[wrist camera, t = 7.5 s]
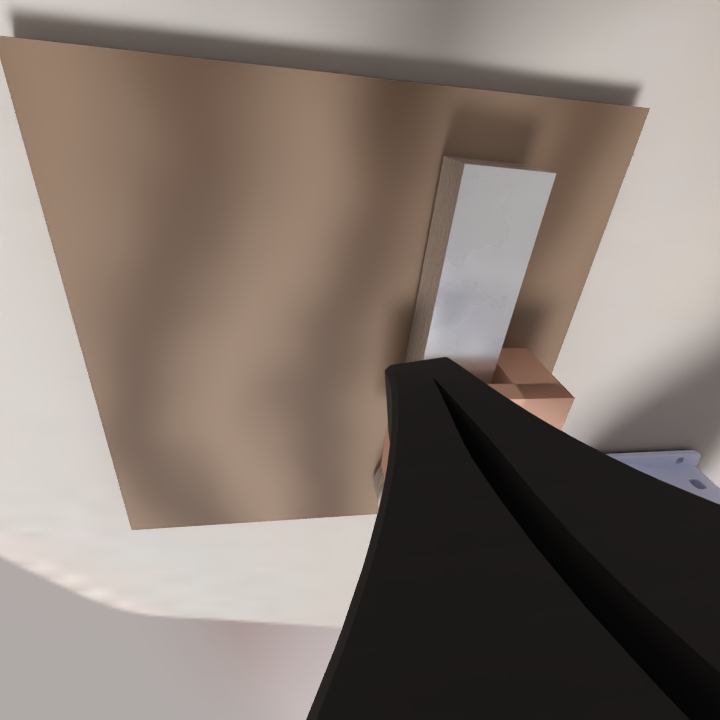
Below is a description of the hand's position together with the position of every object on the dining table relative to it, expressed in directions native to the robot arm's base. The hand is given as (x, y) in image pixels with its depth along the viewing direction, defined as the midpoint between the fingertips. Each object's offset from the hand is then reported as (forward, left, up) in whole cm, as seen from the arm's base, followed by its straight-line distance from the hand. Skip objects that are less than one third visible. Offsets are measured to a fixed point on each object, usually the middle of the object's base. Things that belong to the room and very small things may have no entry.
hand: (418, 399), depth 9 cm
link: (-4, +4, -8) cm, 10 cm away
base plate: (0, +4, -9) cm, 10 cm away
